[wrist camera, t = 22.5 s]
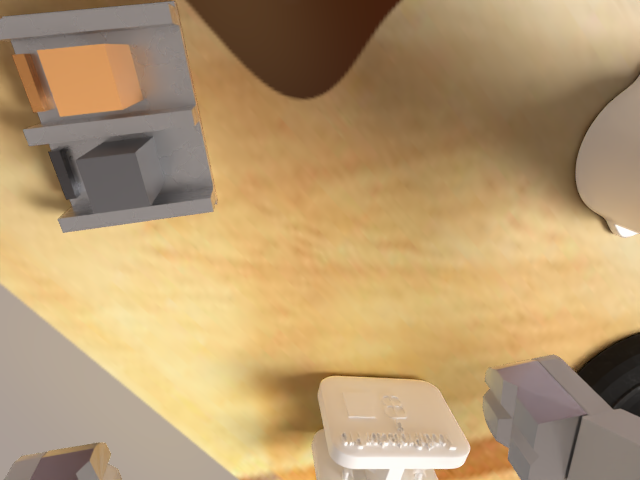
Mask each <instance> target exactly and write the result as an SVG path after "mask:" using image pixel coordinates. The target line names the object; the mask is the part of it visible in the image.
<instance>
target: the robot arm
mask: <svg viewBox="0 0 640 480" xmlns="http://www.w3.org/2000/svg"><path fill="white" fill-rule="evenodd" d="M576 185H577V189H578V192H579V194H580V197H581V198H582V200H583V202H584V203H585V204H586V205H587V206H588V207H589V208H590V209H591V210H592V211H594V212H596V213H597V214H599V215H601V216H602V217H603V218H604V219H606V222H607V224H608V226H609V228H610V230H611V231H612V232H613V233H614V234H615V235H618V236H621V237H630V236H633V235H636V234H640V75H639V77H638V78H637V79H636V81H635V82H634V83H633V84H632V85H630V86H629V87H628V88H627V89H626V90H624V91H623V92H622V93H620V94H619V95H618V96H617V97H615V98H614V99H613V100H612V101H611V102H610V103H609V104H608V105H607V106H606V107H605V108H604V109H603V110H602V111H601V112H600V114H599V115H598V116H597V117H596V119H595V120H594V122H593V123H592V125H591V126H590V128H589V129H588V131H587V133H586V135H585V137H584V139H583V142H582V144H581V147H580V150H579V153H578V157H577V162H576ZM485 382H486V384H487V385H488V386H489V388H490V389H489V390H488V391H487V393H486V394H485V395H484V396H483V411H484V416H485V420H486V423H487V425H488V427H489V429H490V431H491V433H492V435H493V436H494V438H495V439H496V441H498V442H499V443H501V444H503V445H504V446H506V447H508V448H509V452H508V460H509V462H510V463H511V465H512V466H513V468H514V469H515V471H516V472H517V474H518V476H519V477H520V479H521V480H640V417H638V416H636V415H634V414H632V413H629V412H627V411H625V410H623V409H616V410H613V409H612V408H611V407H610V406H609V405H608V404H607V403H606V402H605V401H604V400H603V399H602V398H601V397H600V396H599V395H598V394H597V393H596V392H595V391H594V390H593V389H592V388H591V387H590V386H589V385H588V384H587V383H586V382H585V381H584V380H583V379H582V378H581V377H580V376H579V375H578V374H577V373H575V372H574V371H573V370H572V369H571V368H570V367H569V366H568V365H567V364H566V363H565V362H564V361H563V360H562V359H561V358H560V357H558V356H556V355H549V356H544V357H539V358H534V359H531V360H524V361H519V362H514V363H509V364H504V365H499V366H494V367H489V368H488V370H487V371H486V376H485ZM110 456H111V453H110V451H109V449H108V447H107V445H106V443H93V444H87V445H82V446H76V447H69V448H64V449H57V450H52V451H48V452H42V453H36V454H30V455H24V456H21V457H20V458H19V459H18V460H17V461H15V462H14V464H13V465H12V467H11V468H10V470H9V472H8V474H7V476H6V477H5V479H4V480H122V478H121V475H120V473H119V470H118V469H117V468H115V467H113V466H112V465H110V464H108V462H109V459H110Z"/></svg>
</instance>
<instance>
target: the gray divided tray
mask: <svg viewBox="0 0 640 480" xmlns="http://www.w3.org/2000/svg"><path fill="white" fill-rule="evenodd" d="M0 41H9V42H11V43H12V46H13V48H14V51H15V54H16V55H12V57H13V59H14V62H15V65H16V67H17V70H18V73H19V75H20V78H21V81H22V83H23V86H24V89H25V91H26V94H27V97H28V99H29V102H30V105H31V107H32V110H33V113H34V112H37V113H38V116H39V118H40V121H41V123H40V124H37V125H34V126H31V127H28V128H26V129H23V132H24V135H25V137H26V140H27V142H28V145H29V146H35V145H43V144H49V145H50V148H51V151H49V152H48V153H49V155H50V158H51V161H52V163H53V166H54V169H55V171H56V174H57V177H58V179H59V182H60V185H61V187H62V190H63V193H64V195H65V198H66V200H68V199H70V202H71V205H72V207H71V208H69V209H68V210H67V211H66V212H65V213H64V214H63V215H62V216H60V217H59V218H58V221H59V224H60V226H61V229H62V231H63V233H65V232H72V231H79V230H86V229H93V228H100V227H107V226H114V225H122V224H129V223H136V222H143V221H150V220H157V219H164V218H171V217H178V216H186V215H193V214H200V213H207V212H214V207H215V204H217V201H218V199H217V195H216V190H215V185H214V180H213V176H212V171H211V166H210V161H209V157H208V152H207V147H206V142H205V138H204V133H203V128H202V123H201V119H200V114H199V109H198V104H197V100H196V95H195V90H194V85H193V81H192V76H191V71H190V66H189V62H188V57H187V52H186V47H185V43H184V38H183V33H182V28H181V24H180V19H179V14H178V9H177V4H176V2H175V1H170V2H159V3H148V4H137V5H126V6H115V7H103V8H92V9H81V10H70V11H59V12H48V13H37V14H26V15H15V16H4V17H2V18H1V19H0ZM95 44H127V45H129V47H130V51H131V55H132V59H133V62H134V66H135V70H136V74H137V78H138V81H139V85H140V89H141V93H142V97H143V100H142V101H140V102H138V103H136V104H134V105H132V106H129V107H127V108H125V109H123V110H116V111H107V112H98V113H89V114H81V115H72V116H63V117H60V115H59V112H58V109H57V107H56V104H55V101H54V98H53V95H52V92H51V89H50V87H49V84H48V81H47V78H46V75H45V72H44V69H43V67H42V64H41V61H40V58H39V55H38V52H37V50H45V49H55V48H65V47H75V46H85V45H95ZM145 137H153V138H154V142H155V146H156V150H157V154H158V157H159V161H160V165H161V169H162V173H163V177H164V180H165V184H164V186H163V187H162V189H161V190H160V192H159V194H158V195H157V197H156V198H155V200H154V201H153V203H152V205H151V206H149V207H142V208H135V209H127V210H120V211H113V212H105V213H98V214H94V212H93V209H92V206H91V204H90V201H89V198H88V195H87V192H86V189H85V186H84V183H83V181H82V178H81V175H80V172H79V169H78V166H77V163H76V161H75V160H76V159H78V158H79V157H81V156H82V155H84V154H86V153H87V152H89V151H90V150H92V149H93V148H95V147H97V146H98V145H100V144H101V143H103V142H111V141H119V140H128V139H136V138H145Z"/></svg>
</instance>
